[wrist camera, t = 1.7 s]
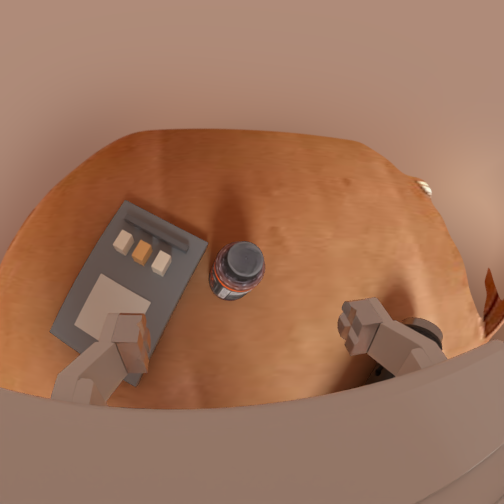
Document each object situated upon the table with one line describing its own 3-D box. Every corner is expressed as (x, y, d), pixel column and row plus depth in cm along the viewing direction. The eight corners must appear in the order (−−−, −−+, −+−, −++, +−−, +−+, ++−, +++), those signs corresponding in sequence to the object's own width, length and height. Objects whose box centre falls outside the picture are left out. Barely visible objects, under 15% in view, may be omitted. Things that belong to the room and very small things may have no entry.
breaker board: (137, 384, 34) (132, 389, 30) (55, 332, 33) (41, 330, 29) (206, 247, 42) (210, 236, 38) (127, 206, 41) (122, 191, 37)
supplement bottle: (208, 259, 42) (219, 229, 32) (249, 262, 43) (272, 233, 33) (207, 300, 40) (217, 283, 30) (249, 302, 41) (273, 286, 31)
